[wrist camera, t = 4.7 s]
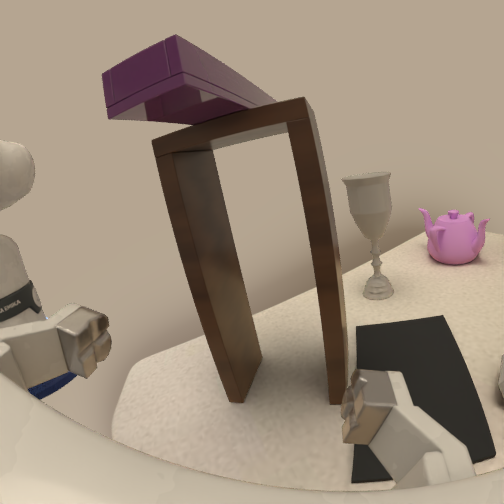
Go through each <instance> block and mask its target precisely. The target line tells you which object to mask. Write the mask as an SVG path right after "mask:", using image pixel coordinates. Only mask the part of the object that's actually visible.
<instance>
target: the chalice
mask: <svg viewBox="0 0 504 504" xmlns="http://www.w3.org/2000/svg"><path fill="white" fill-rule="evenodd" d="M390 175H391V173H390V172H378V173H368V174H360V175H354V176H349V177H345V178H342V179H341V180H342V181H343V182H344V184H345V185H346V188H347V194H348V200H349V207H350V213H351V214H352V216H353V218H354V221H355V223H356V224H357V226H358V228H359V229H360V231H361V232H362V234H363V235H364V237H365V238H367V239H370V240H371V242H372V250H371V254H372V255H373V262H372V263H371V265H372V266H373V268H374V275H373V276H372V277H370V278H369V279H368V281H367V282H366V285H365V289H364V291H363V295H364V297H366V298H368V299H372V300H381V299H385V298H388V297H390V296H391V295H392V294H393V293H394V290H393V288H392V287H391V284H390V282H389V280H388V278H387V277H385V276H383V275H382V274H381V272H380V266H381V264H382V262H381V261H380V258H379V255H380V252H381V250H380V249H379V246H378V239H379V238H381V237H383V236H384V233H385V231H386V228H387V225H388V222H389V218H390V214H391V210H392V205H391V197H390V189H389V178H390Z"/></svg>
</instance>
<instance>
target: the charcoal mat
mask: <svg viewBox="0 0 504 504" xmlns="http://www.w3.org/2000/svg"><path fill="white" fill-rule="evenodd" d="M356 336H357V369H363V370H374V371H400V372H401V373H402V375H403V377H404V380H405V383H406V385H407V388H408V391H409V394H410V397H411V400H412V403H413V405H414V406H418V407H419V408H420V409H422V410H423V411H424V412H425V413H427V414H428V415H429V416H430V417H431V418H433V419H434V420H435V421H436V422H437V423H439V424H440V425H441V426H442V427H443V428H445V429H446V430H447V431H448V432H449V433H451V434H452V435H453V436H454V437H456V438H457V439H458V440H459V441H460V442H462V443H463V444H464V445H465V446H466V447H467V450H468V452H469V455H470V458H471V461H472V464H473V463H477V462H480V461H483V460H486V459H489V458H492V457H495V455H496V451H495V447H494V443H493V440H492V436H491V433H490V430H489V426H488V423H487V420H486V417H485V414H484V411H483V408H482V405H481V402H480V399H479V397H478V394H477V391H476V388H475V386H474V383H473V381H472V378H471V376H470V373H469V371H468V368H467V366H466V363H465V361H464V359H463V356H462V354H461V352H460V350H459V347H458V345H457V343H456V341H455V339H454V337H453V334H452V332H451V330H450V328H449V326H448V324H447V322H446V320H445V318H444V316H443V315H441V316H434V317H428V318H421V319H414V320H407V321H399V322H391V323H383V324H374V325H365V326H356ZM385 480H393V478H392V477H391V476H390V474H389V473H388V472H387V470H386V469H385V468H384V466H383V465H382V463H381V462H380V461H379V459H378V458H377V457H376V455H375V454H374V453H373V451H372V450H371V449H370V447H369V445H364V444H355V447H354V460H353V471H352V481H351V483H361V482H375V481H385Z"/></svg>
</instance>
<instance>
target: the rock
mask: <svg viewBox="0 0 504 504" xmlns="http://www.w3.org/2000/svg"><path fill="white" fill-rule="evenodd" d="M498 386H499V388H500V391H501V393H502V396H503V398H504V355H502V361H501V369H500V376H499V383H498Z"/></svg>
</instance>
